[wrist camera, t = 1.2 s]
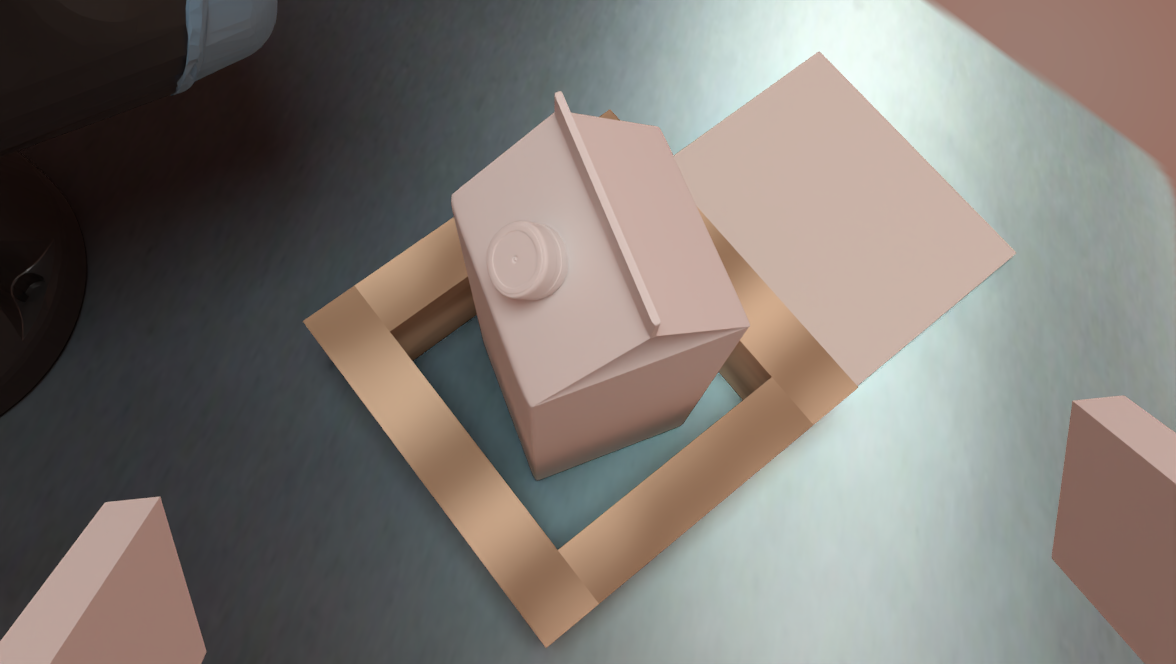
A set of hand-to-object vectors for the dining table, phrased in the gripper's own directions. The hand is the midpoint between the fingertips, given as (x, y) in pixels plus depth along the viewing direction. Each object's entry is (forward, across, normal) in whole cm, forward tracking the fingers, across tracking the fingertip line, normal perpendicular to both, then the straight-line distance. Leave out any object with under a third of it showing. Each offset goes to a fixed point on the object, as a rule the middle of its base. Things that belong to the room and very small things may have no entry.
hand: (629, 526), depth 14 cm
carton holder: (+27, 0, -10) cm, 29 cm away
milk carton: (+27, 0, -10) cm, 29 cm away
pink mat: (+32, +13, -5) cm, 35 cm away
